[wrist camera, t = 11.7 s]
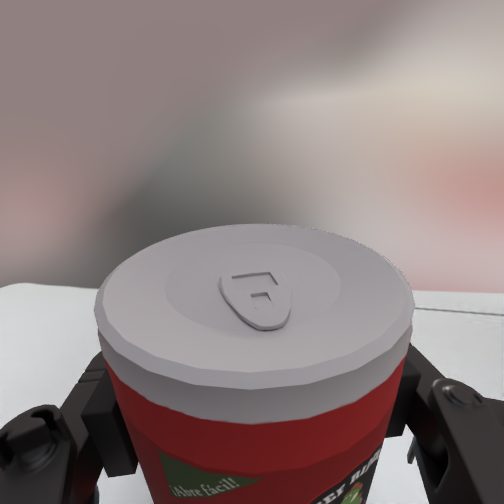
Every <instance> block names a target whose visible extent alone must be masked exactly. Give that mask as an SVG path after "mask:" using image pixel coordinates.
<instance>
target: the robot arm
mask: <svg viewBox="0 0 504 504" xmlns="http://www.w3.org/2000/svg"><path fill="white" fill-rule="evenodd" d="M406 424H407V426H408V427H409V429H410V430H411V432H412V433H413V435H414V437H413V440H412V443H411V446H410V449H409V452H408V454H407V460H408V463H409V464H412V462H413V459H414V457H416V460H417V466H418V467H419V470H420V474H421V477H422V481H423V484H424V487H425V491H426V494H427V498H428V501H429V504H504V401H501V400H496V399H490V398H484V397H483V396H482V395H481V394H479V393H478V392H477V391H475V390H474V389H473V388H471V387H469V386H467V385H466V384H464V383H462V382H459V381H456V380H453V379H449V378H445V377H444V376H443V375H442V374H441V373H440V372H439V371H438V370H437V369H436V368H435V367H434V366H433V365H432V364H431V363H430V362H429V361H428V360H427V359H426V358H425V357H424V356H423V355H422V354H421V353H420V352H419V351H418V350H417V349H416V348H415V347H414V346H412V344H411V343H409V347H408V351H407V355H406V358H405V362H404V365H403V372H402V376H401V380H400V384H399V388H398V392H397V396H396V400H395V403H394V407H393V410H392V414H391V417H390V421H389V424H388V427H387V431H386V434H385V438H389V437H396V436H402V434H403V431H404V428H405V425H406ZM138 462H139V460H138V458H137V455H136V452H135V449H134V446H133V444H132V441H131V438H130V435H129V433H128V430H127V427H126V424H125V421H124V419H123V416H122V413H121V410H120V408H119V405H118V402H117V399H116V395H115V391H114V387H113V383H112V381H111V378H110V375H109V372H108V369H107V366H106V363H105V361H104V358H103V354H102V351H101V352H99V353H98V354H97V355H96V356H95V357H94V358H93V359H92V361H91V362H90V364H89V365H88V367H87V368H86V370H85V373H83V374H82V376H81V377H80V379H79V380H78V383H76V385H75V386H74V388H73V389H72V391H71V392H70V394H69V396H68V397H67V399H66V400H65V402H64V403H63V405H62V406H61V408H60V409H59V408H57V407H56V406H55V405H46V404H45V405H41V406H37V407H34V408H31V409H29V410H27V411H25V412H23V413H21V414H19V415H18V416H17V417H15V418H14V419H12V420H11V421H10V422H8V423H7V424H6V425H5V426H4V427H3V428H2V429H0V504H99V491H98V486H97V481H98V479H99V476H100V474H101V471H102V469H103V467H104V469H105V471H106V474H107V476H108V478H109V477H116V476H123V475H130V474H135V472H136V469H137V465H138Z"/></svg>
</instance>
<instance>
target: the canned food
mask: <svg viewBox="0 0 504 504" xmlns="http://www.w3.org/2000/svg"><path fill="white" fill-rule="evenodd" d="M414 308H415V302H414V297H413V292H412V288H411V286H410V284H409V282H408V281H407V279H406V278H405V276H404V275H403V273H402V272H401V271H400V270H399V269H398V268H397V267H396V266H395V265H394V264H393V263H392V262H391V261H390V260H388V259H387V258H386V257H384V256H382V255H380V254H379V253H378V252H376V251H374V250H373V249H371V248H369V247H366V246H364V245H362V244H360V243H358V242H356V241H354V240H352V239H349V238H345V237H343V236H340V235H337V234H334V233H329V232H325V231H322V230H317V229H312V228H306V227H300V226H291V225H279V224H241V225H240V224H239V225H228V226H219V227H213V228H207V229H201V230H197V231H192V232H188V233H184V234H181V235H178V236H174V237H171V238H169V239H166V240H163V241H161V242H158V243H156V244H153V245H151V246H149V247H148V248H145V249H144V250H142V251H140V252H138V253H136V254H134V255H133V256H131V257H130V258H128V259H127V260H126V261H124V262H123V263H121V264H120V265H119V266H118V267H117V268H116V269H115V270H114V271H113V272H112V273H111V274H110V275H108V276H107V278H106V279H105V281H104V283H103V284H102V286H101V287H100V289H99V291H98V292H97V297H96V302H95V306H94V313H95V317H96V321H97V325H98V337H99V341H100V345H101V350H102V354H103V358H104V361H105V363H106V366H107V369H108V372H109V375H110V378H111V381H112V383H113V387H114V391H115V395H116V399H117V402H118V405H119V408H120V410H121V413H122V416H123V419H124V421H125V424H126V427H127V430H128V433H129V435H130V438H131V441H132V444H133V446H134V449H135V452H136V455H137V458H138V460H139V463H140V466H141V469H142V471H143V474H144V477H145V480H146V483H147V485H148V488H149V491H150V494H151V496H152V499H153V502H154V504H366V500H367V497H368V493H369V490H370V486H371V483H372V479H373V476H374V473H375V469H376V466H377V462H378V459H379V455H380V452H381V448H382V445H383V441H384V438H385V434H386V431H387V427H388V424H389V421H390V417H391V414H392V410H393V407H394V403H395V400H396V396H397V392H398V388H399V384H400V380H401V376H402V372H403V365H404V362H405V358H406V355H407V351H408V347H409V343H410V339H411V334H412V330H413V329H412V315H413V311H414Z"/></svg>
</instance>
